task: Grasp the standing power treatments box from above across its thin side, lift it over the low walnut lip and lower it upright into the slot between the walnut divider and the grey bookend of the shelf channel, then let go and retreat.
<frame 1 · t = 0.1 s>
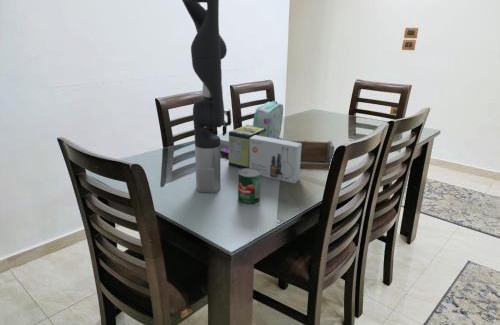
hand: (213, 134, 143), 17 cm above the table, tool pointing down, fingers open, 8 cm apart
canned tomato: (248, 200, 128), on the table
protein box: (247, 163, 163), on the table
box: (222, 152, 178), on the table
lunch box: (267, 142, 194), on the table
skincare box: (273, 177, 149), on the table
shelf: (299, 163, 164), on the table
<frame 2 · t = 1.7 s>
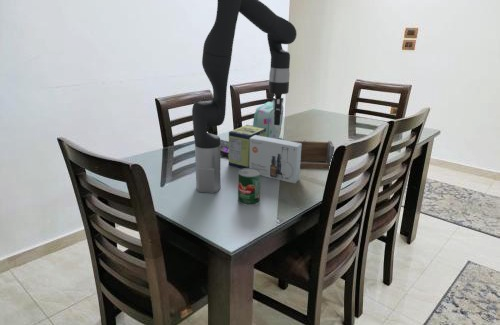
hand: (276, 122, 140), 23 cm above the table, tool pointing down, fingers open, 8 cm apart
nothing on the table moved.
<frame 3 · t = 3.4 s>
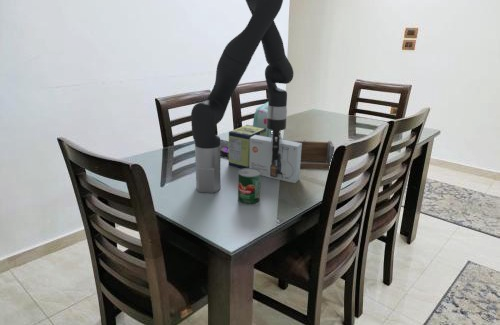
hand: (274, 156, 145), 9 cm above the table, tool pointing down, fingers closed on skincare box, 6 cm apart
skincare box: (273, 176, 149), on the table, touching gripper
everything else where it was.
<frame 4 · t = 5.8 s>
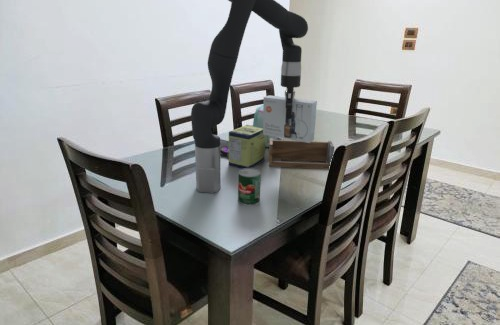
hand: (288, 116, 142), 25 cm above the table, tool pointing down, fingers closed on skincare box, 6 cm apart
skincare box: (287, 138, 145), point 16 cm above the table, touching gripper
everything else where it was.
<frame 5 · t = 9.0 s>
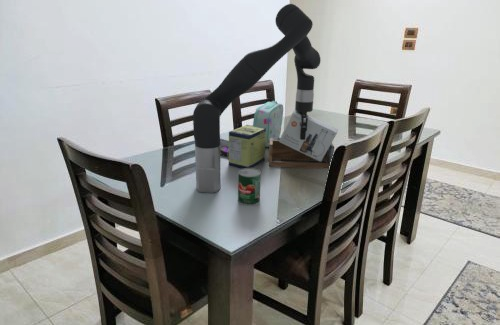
hand: (301, 137, 159), 13 cm above the table, tool pointing down, fingers open, 6 cm apart
skincare box: (300, 150, 162), point 6 cm above the table, touching gripper, shelf
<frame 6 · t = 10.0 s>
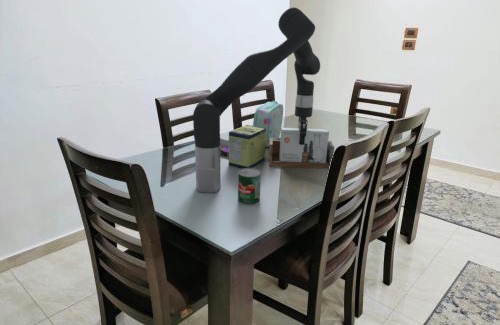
hand: (301, 142, 160), 10 cm above the table, tool pointing down, fingers closed on skincare box, 5 cm apart
skincare box: (302, 163, 163), resting in shelf, touching gripper
when the fingers open (10 cm above the table, at t = 10.0 s): skincare box stays where it is, resting in shelf.
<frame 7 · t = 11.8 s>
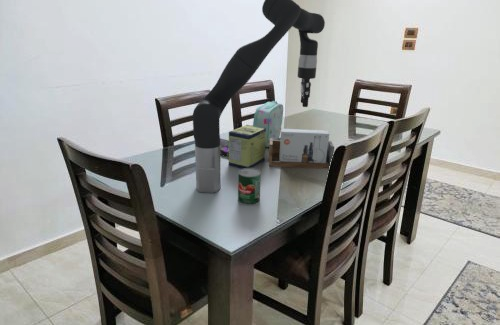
hand: (304, 104, 154), 27 cm above the table, tool pointing down, fingers open, 8 cm apart
skincare box: (302, 164, 163), resting in shelf
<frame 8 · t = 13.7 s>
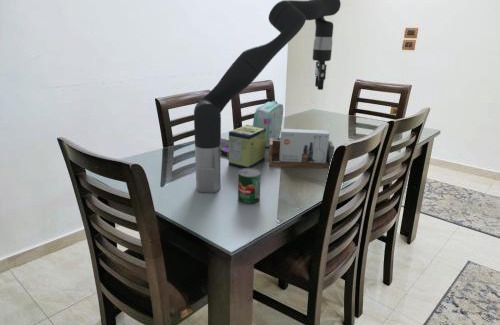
hand: (318, 88, 153), 34 cm above the table, tool pointing down, fingers open, 8 cm apart
at the end: skincare box inside the target area (1.7 cm from its centre), resting in shelf; skincare box tilted 0°; the gripper is holding nothing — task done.
